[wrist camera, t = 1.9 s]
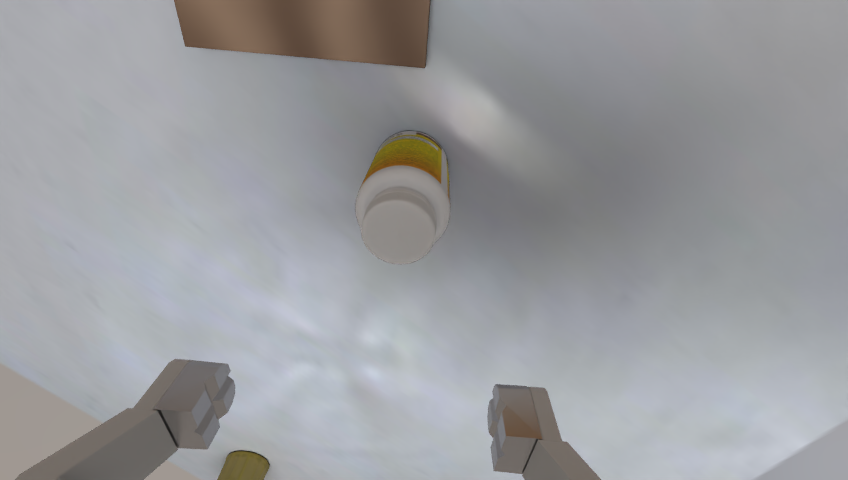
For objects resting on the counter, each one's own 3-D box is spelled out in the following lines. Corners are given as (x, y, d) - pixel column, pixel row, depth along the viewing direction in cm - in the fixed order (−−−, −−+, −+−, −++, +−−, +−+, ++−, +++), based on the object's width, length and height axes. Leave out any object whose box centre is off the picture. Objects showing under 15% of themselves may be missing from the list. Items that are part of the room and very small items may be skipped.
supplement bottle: (363, 145, 27) (325, 206, 18) (432, 116, 26) (427, 168, 17) (394, 207, 29) (374, 287, 21) (458, 184, 28) (465, 259, 19)
